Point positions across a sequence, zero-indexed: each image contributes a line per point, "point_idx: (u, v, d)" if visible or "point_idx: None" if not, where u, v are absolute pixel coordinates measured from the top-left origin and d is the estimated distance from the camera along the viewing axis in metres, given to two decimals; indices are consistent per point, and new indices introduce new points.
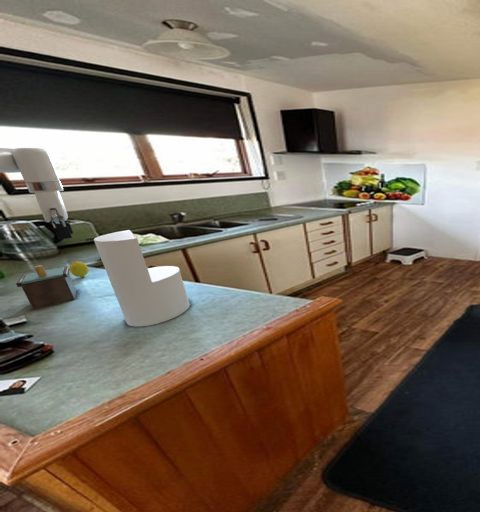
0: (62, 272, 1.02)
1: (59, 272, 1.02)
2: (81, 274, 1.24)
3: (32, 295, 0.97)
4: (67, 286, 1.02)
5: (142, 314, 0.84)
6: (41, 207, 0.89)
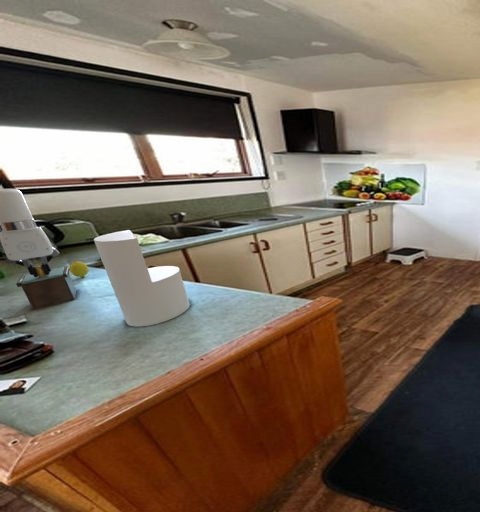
0: (62, 272, 1.02)
1: (59, 272, 1.02)
2: (81, 274, 1.24)
3: (32, 295, 0.97)
4: (67, 286, 1.02)
5: (142, 314, 0.84)
6: (47, 240, 0.97)
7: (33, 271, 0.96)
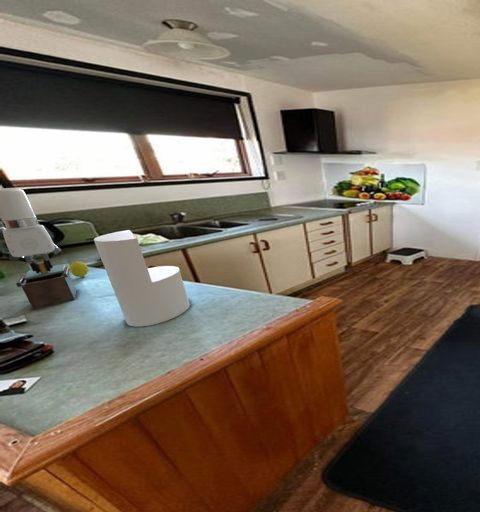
0: (63, 268, 1.06)
1: (60, 268, 1.06)
2: (81, 274, 1.24)
3: (32, 295, 0.97)
4: (67, 286, 1.02)
5: (142, 314, 0.84)
6: (48, 238, 1.00)
7: (35, 267, 1.00)
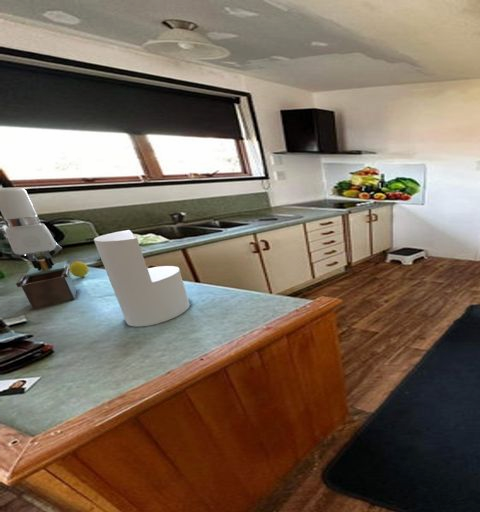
0: (64, 266, 1.09)
1: (61, 266, 1.09)
2: (81, 274, 1.24)
3: (32, 295, 0.97)
4: (67, 286, 1.02)
5: (142, 314, 0.84)
6: (50, 236, 1.03)
7: (37, 265, 1.03)
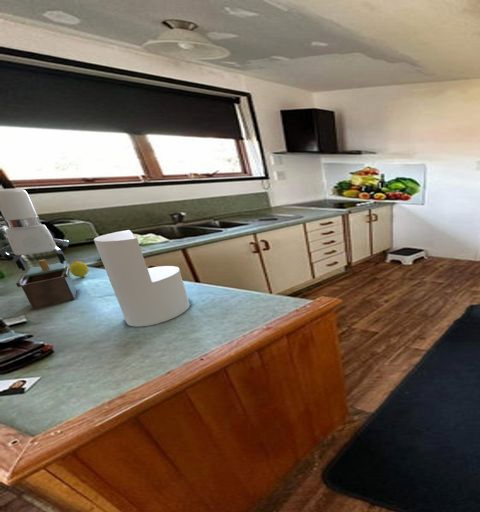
0: (64, 266, 1.09)
1: (61, 266, 1.09)
2: (81, 274, 1.24)
3: (32, 295, 0.97)
4: (67, 286, 1.02)
5: (142, 314, 0.84)
6: (50, 237, 1.04)
7: (21, 265, 1.00)
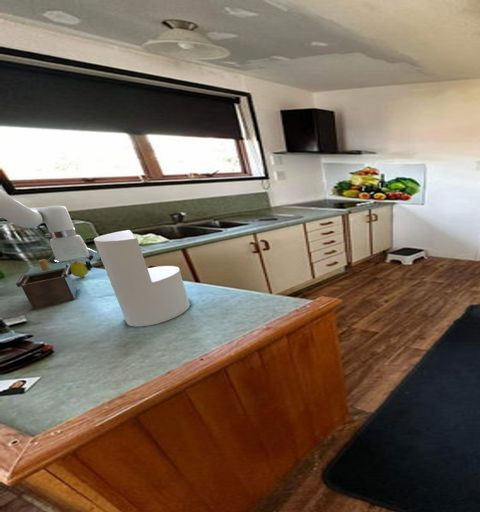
0: (64, 266, 1.09)
1: (61, 266, 1.09)
2: (81, 274, 1.24)
3: (32, 295, 0.97)
4: (67, 286, 1.02)
5: (142, 314, 0.84)
6: (84, 245, 1.23)
7: None
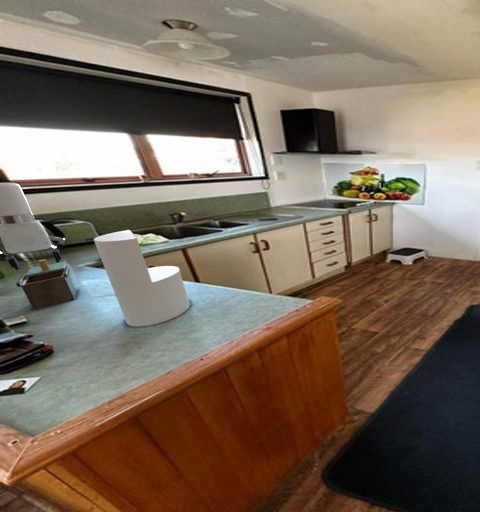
0: (64, 266, 1.09)
1: (61, 266, 1.09)
2: None
3: (32, 295, 0.97)
4: (67, 286, 1.02)
5: (142, 314, 0.84)
6: (45, 234, 0.98)
7: (14, 264, 0.95)
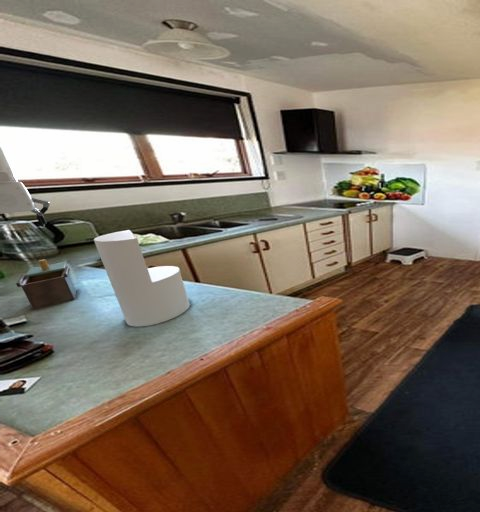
0: (64, 266, 1.09)
1: (61, 266, 1.09)
2: None
3: (32, 295, 0.97)
4: (67, 286, 1.02)
5: (143, 314, 0.84)
6: (28, 195, 0.93)
7: None
